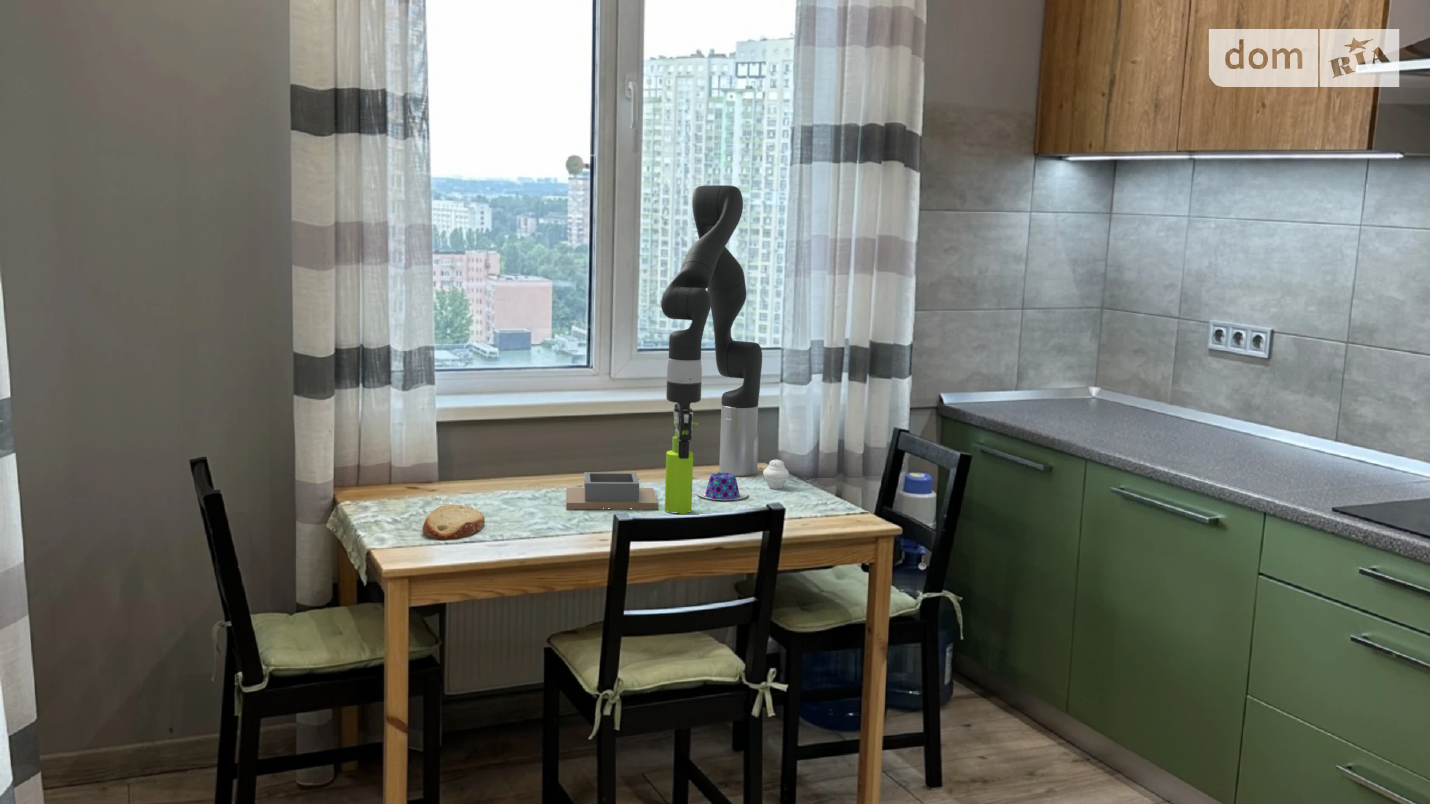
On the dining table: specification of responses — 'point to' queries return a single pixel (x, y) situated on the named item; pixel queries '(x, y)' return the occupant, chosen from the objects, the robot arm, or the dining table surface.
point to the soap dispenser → (678, 479)
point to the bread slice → (453, 522)
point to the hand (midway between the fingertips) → (682, 454)
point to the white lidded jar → (776, 474)
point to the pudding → (722, 488)
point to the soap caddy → (611, 492)
